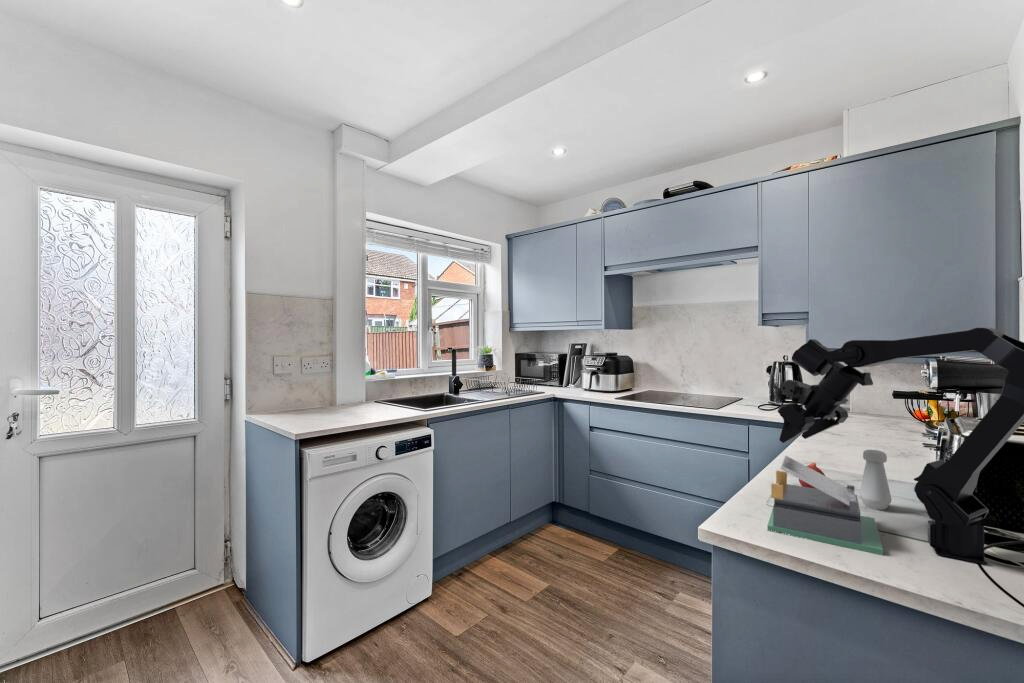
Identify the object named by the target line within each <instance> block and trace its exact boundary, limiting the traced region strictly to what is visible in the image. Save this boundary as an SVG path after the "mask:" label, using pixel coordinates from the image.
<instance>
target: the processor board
mask: <svg viewBox="0 0 1024 683" xmlns="http://www.w3.org/2000/svg"><path fill="white" fill-rule="evenodd" d="M771 510H772V511H771V513H770V516H769V520H768V523H767V531H768V530H772V531H771V532H773V531H776V532H775V533H777V532H781V533H780V534H782V533H786V534H785V535H787V534H790V535H789V536H791V535H794V536H793V537H796V536H798V537H797V538H801V537H802V538H801V539H805V538H807V539H806V540H810V539H811V540H812V541H815V540H816V542H819V541H820V543H825V544H828V543H829V544H830V545H834V546H840V547H843V548H847V549H852V550H856V551H862V552H866V553H871V554H876V555H879V556H880V555H881V556H883V555H884V548H883V544H882V542H881V539H880V534H879V531H878V527H877V523H876V520H875V518H874V517H870V516H865V515H860V519H861V544H856V543H852V542H847V541H842V540H837V539H832V538H828V537H823V536H818V535H813V534H808V533H804V532H799V531H794V530H789V529H784V528H780V527H775V526H773V508H772V509H771ZM829 544H828V545H829Z"/></svg>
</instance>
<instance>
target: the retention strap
mask: <svg viewBox="0 0 1024 683" xmlns="http://www.w3.org/2000/svg"><path fill="white" fill-rule="evenodd" d="M807 466H808V465H805V464H803V463H801V462H800V461H797V460H795V459H794V458H791V457H790V456H787V455H785V456H784V458H783V461H782V463H781V466H780V470H781V471H784V472H787V474H790V475H791V476H792V477H795V478H797V479H798V480H799V479H800V480H802V481H804V482H806V483H808V484H810V485H812V486H813V487H815V488H817V489H819V490H821V491H823V492H825V493H826V494H828V495H830V496H832V497H834V498H836V499H838V500H839V501H841V502H843V503H845V504H847V505H849V506H850V502H849V500H850V501H856V497H855V495H856V492H855V489H854V490H853V489H849V488H847V486H846V485H844V484H841V483H840V482H837V481H836V480H833V479H831V477H828V476H827V475H825V476H824V475H822V474H820V473H818V472H816V471H815V470H813V469H811V468H809V467H807Z"/></svg>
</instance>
